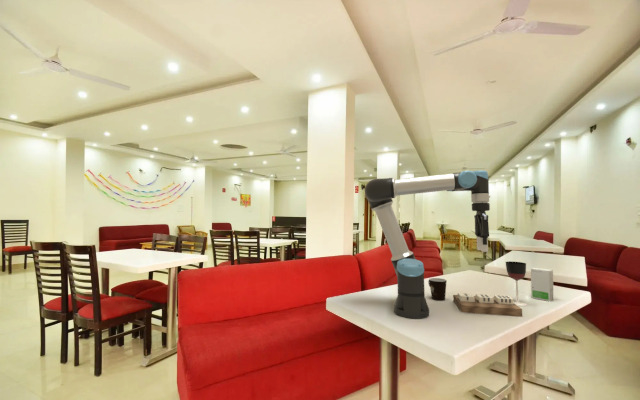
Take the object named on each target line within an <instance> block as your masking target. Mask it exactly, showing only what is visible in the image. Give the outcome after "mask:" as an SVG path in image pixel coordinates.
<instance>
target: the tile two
mask: <svg viewBox="0 0 640 400" xmlns="http://www.w3.org/2000/svg"><path fill="white" fill-rule="evenodd" d="M475 296H476V300H477V301H478V302H479V303H494V298H493V297H494V296H492V295H491V294H483V293H475Z"/></svg>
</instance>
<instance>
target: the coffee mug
mask: <svg viewBox="0 0 640 400" xmlns="http://www.w3.org/2000/svg"><path fill="white" fill-rule="evenodd" d="M427 282H428V286H429V288H430V289H429V290H430V293H431V299H432V300H434V301H439V302H440V301H441V302H443V301H445V300H446V290H447V279H445V278H439V277H431V278H429V279H428V281H427Z"/></svg>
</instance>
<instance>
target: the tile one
mask: <svg viewBox="0 0 640 400" xmlns="http://www.w3.org/2000/svg"><path fill="white" fill-rule="evenodd" d="M457 295H458V299H459V300H460V301H463V302H475V297H474V296H475V295H473V294H472V293H467V292H466V293H462V292H457Z"/></svg>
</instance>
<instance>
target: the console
mask: <svg viewBox="0 0 640 400" xmlns="http://www.w3.org/2000/svg"><path fill="white" fill-rule="evenodd" d="M473 296H474V297H475V302H463V301H460V300H459V299H458V294H453V303H454V304H455V305H456V306H457V308H458V310H459V312H461V313H464V314H465V313H466V314H480V315H493V316H507V317H520V318H521V317H523V308H521V307H520V306H519V305H516V304H514V305H512V304H499V303H497V302H496V301H495V300H494V303H479V302H478V301H477V300H476V295H473ZM492 297H493V298H494V296H492Z"/></svg>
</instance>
